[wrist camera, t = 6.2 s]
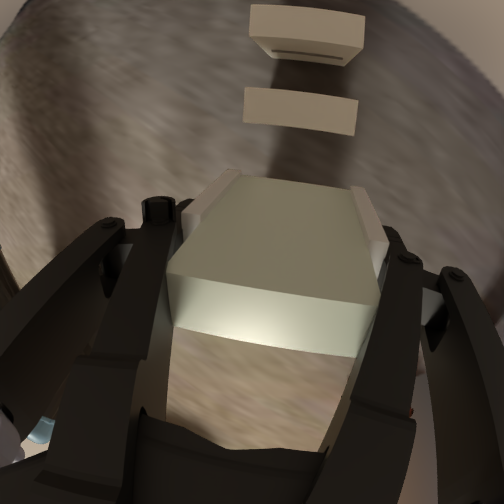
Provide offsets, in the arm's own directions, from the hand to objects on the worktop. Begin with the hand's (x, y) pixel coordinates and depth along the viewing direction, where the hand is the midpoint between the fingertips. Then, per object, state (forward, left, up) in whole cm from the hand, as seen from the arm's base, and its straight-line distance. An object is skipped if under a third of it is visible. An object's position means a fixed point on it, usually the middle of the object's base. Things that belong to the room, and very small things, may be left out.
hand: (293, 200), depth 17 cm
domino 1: (0, +10, -11) cm, 15 cm away
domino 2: (0, +5, -11) cm, 12 cm away
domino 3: (0, 0, 0) cm, 0 cm away
